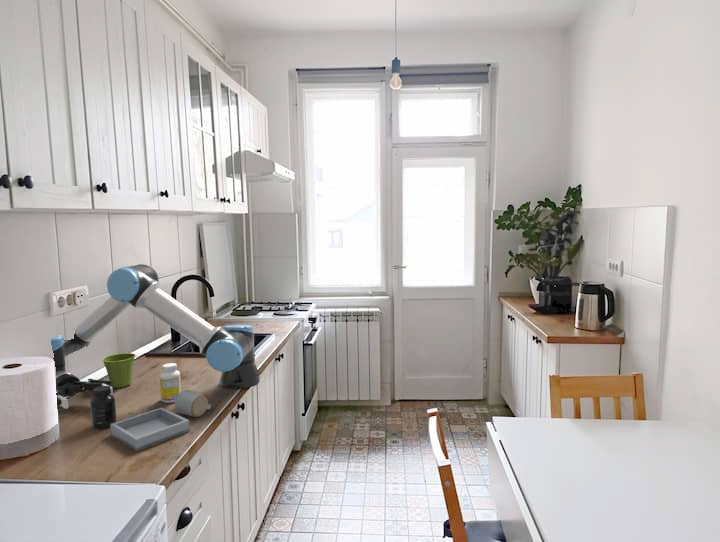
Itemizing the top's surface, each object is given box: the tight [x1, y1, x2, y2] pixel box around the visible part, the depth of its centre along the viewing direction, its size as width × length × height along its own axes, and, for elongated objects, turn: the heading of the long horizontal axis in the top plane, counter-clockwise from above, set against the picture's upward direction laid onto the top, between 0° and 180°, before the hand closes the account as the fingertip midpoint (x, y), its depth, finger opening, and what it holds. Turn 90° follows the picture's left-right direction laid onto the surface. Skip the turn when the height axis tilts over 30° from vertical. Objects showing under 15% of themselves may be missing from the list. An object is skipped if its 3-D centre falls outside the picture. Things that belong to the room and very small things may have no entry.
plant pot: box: [101, 352, 137, 389], centre depth 182 cm, size 12×12×11 cm
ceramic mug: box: [174, 389, 212, 418], centre depth 155 cm, size 11×8×8 cm
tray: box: [109, 407, 191, 452], centre depth 140 cm, size 16×16×4 cm
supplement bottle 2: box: [159, 362, 182, 404], centre depth 166 cm, size 7×7×13 cm
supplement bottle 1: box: [89, 386, 118, 430], centre depth 146 cm, size 7×7×12 cm
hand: (90, 397), depth 152 cm, fingers open, 13 cm apart
